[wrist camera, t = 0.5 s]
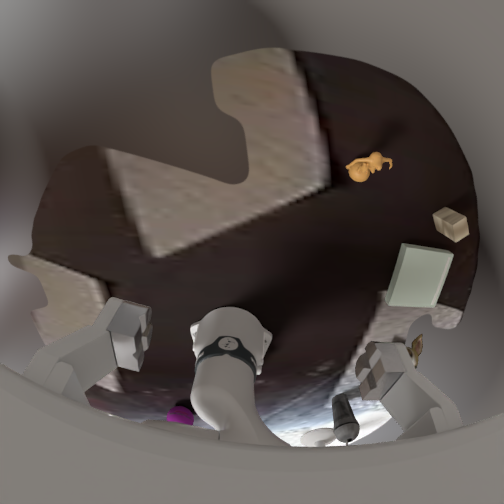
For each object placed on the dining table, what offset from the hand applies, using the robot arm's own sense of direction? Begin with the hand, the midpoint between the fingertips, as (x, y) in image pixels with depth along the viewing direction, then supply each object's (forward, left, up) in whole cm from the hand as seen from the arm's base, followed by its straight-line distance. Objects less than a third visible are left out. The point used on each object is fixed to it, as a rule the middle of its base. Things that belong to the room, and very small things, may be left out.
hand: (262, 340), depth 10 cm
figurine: (+5, -17, -45) cm, 48 cm away
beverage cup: (-58, -30, -45) cm, 79 cm away
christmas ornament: (-69, +16, -45) cm, 84 cm away
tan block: (-2, -40, -45) cm, 60 cm away
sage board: (-16, -38, -45) cm, 61 cm away
